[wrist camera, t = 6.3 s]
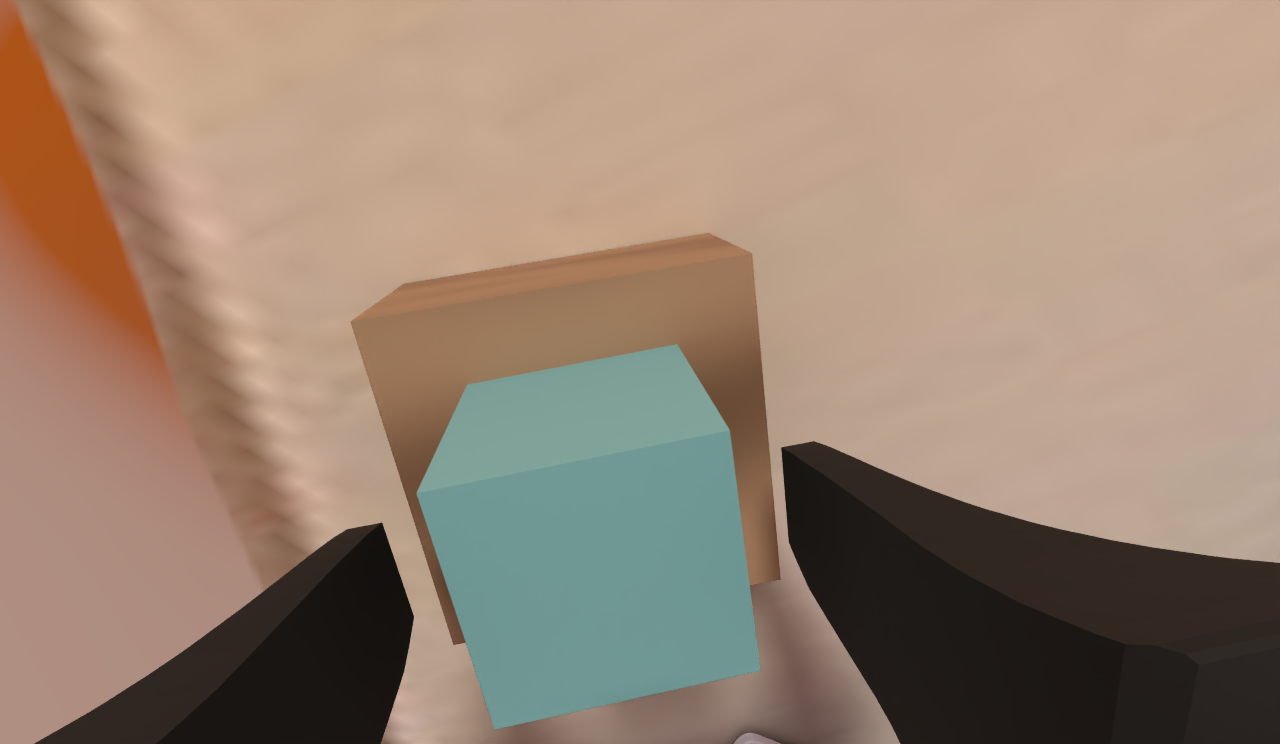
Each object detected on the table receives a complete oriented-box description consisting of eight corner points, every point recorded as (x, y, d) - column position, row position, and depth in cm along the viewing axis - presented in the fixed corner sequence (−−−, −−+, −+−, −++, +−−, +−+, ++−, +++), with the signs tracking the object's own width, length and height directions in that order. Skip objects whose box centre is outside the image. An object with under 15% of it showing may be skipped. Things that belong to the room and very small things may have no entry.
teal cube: (704, 523, 14) (761, 670, 10) (517, 562, 14) (494, 730, 10) (677, 344, 13) (729, 430, 9) (467, 384, 12) (416, 492, 8)
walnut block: (737, 495, 19) (780, 579, 15) (477, 545, 18) (453, 645, 14) (709, 233, 16) (752, 253, 12) (403, 284, 16) (350, 321, 12)
